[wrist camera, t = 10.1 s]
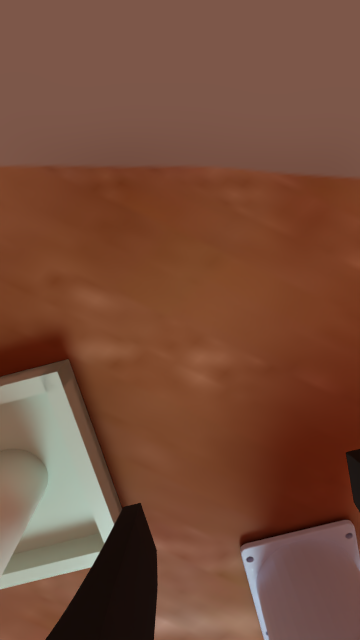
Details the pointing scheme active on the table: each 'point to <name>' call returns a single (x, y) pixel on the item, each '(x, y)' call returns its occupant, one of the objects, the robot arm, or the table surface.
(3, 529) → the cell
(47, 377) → the trough tray
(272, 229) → the table surface
